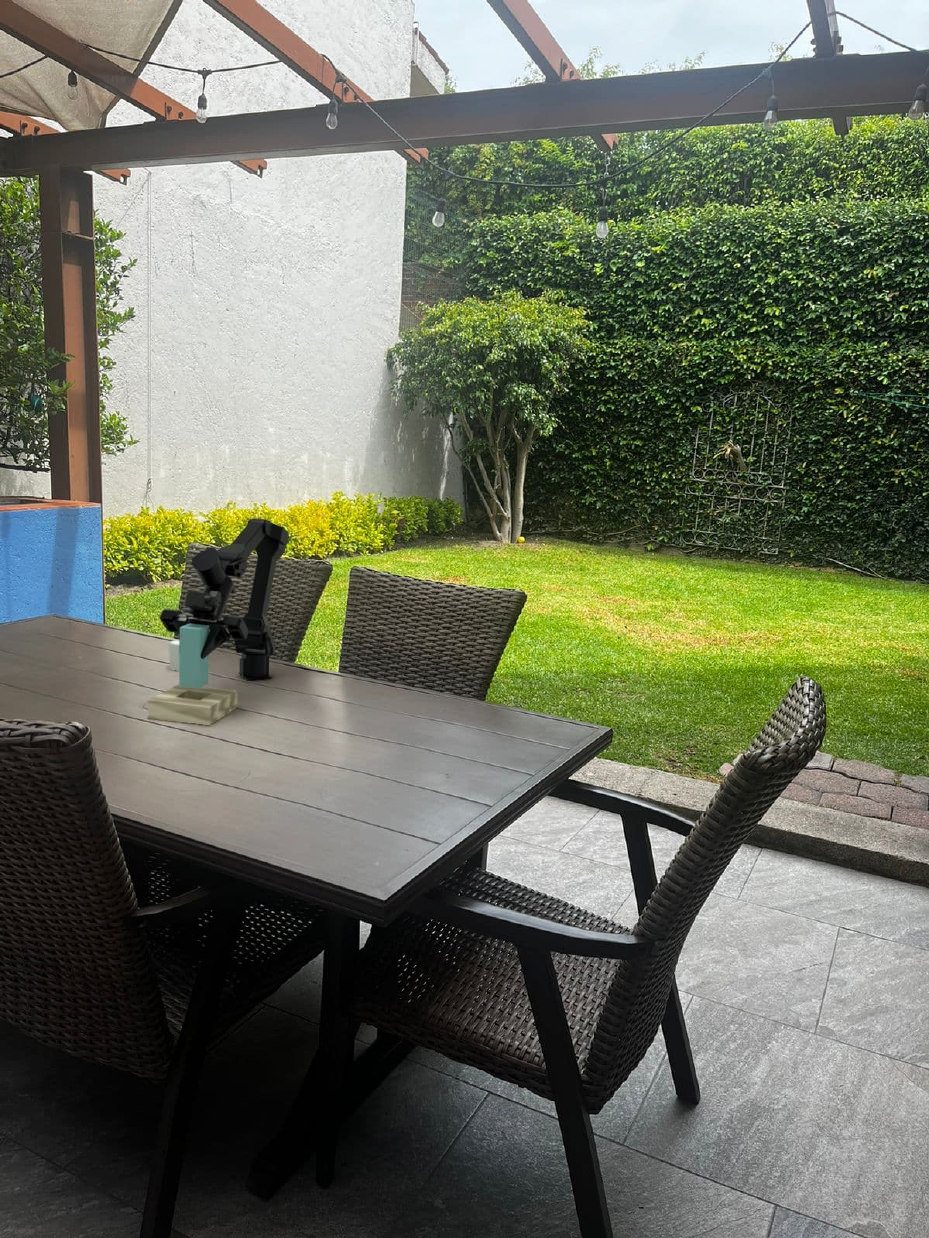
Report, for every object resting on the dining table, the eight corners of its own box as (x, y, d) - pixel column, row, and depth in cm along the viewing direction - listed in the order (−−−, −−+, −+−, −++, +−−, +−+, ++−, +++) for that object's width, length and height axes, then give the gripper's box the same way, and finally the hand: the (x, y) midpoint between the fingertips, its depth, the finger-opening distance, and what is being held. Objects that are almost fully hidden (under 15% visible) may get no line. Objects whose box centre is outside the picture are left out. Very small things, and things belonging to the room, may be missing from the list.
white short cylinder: (191, 672, 232) (191, 645, 231) (164, 670, 232) (164, 644, 231) (199, 666, 239) (199, 640, 237) (173, 664, 239) (173, 638, 237)
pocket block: (179, 700, 208) (179, 683, 208) (237, 707, 206) (237, 690, 205) (147, 718, 195) (147, 700, 194) (209, 725, 192) (209, 707, 192)
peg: (189, 681, 202) (189, 623, 199) (208, 683, 201) (209, 625, 198) (179, 686, 197) (179, 627, 195) (198, 688, 197) (199, 629, 194)
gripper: (163, 572, 200) (137, 631, 191) (244, 580, 197) (220, 640, 188) (180, 602, 209) (156, 659, 201) (257, 610, 206) (236, 668, 198)
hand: (191, 656), depth 197 cm, fingers closed on peg, 4 cm apart
